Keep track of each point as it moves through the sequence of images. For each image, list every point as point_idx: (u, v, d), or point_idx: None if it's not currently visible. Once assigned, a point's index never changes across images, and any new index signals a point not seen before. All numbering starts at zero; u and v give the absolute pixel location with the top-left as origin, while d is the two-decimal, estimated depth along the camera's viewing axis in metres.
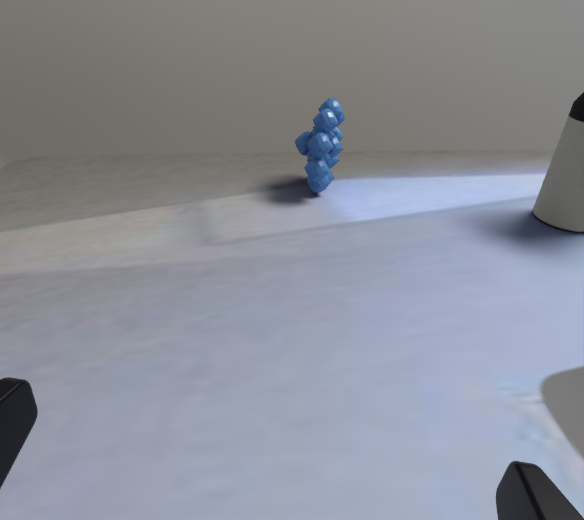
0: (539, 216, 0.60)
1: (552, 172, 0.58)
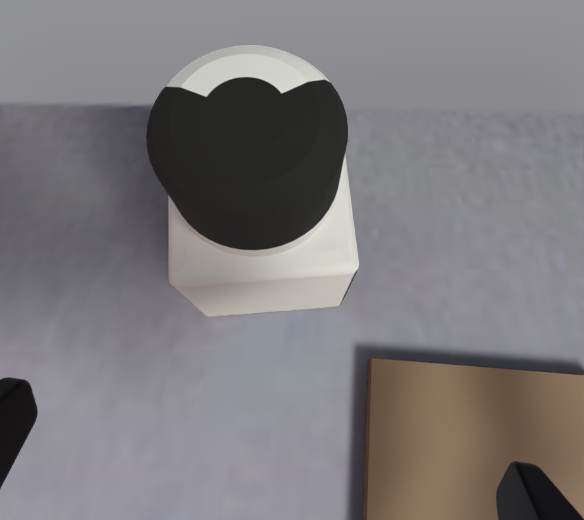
0: None
1: None
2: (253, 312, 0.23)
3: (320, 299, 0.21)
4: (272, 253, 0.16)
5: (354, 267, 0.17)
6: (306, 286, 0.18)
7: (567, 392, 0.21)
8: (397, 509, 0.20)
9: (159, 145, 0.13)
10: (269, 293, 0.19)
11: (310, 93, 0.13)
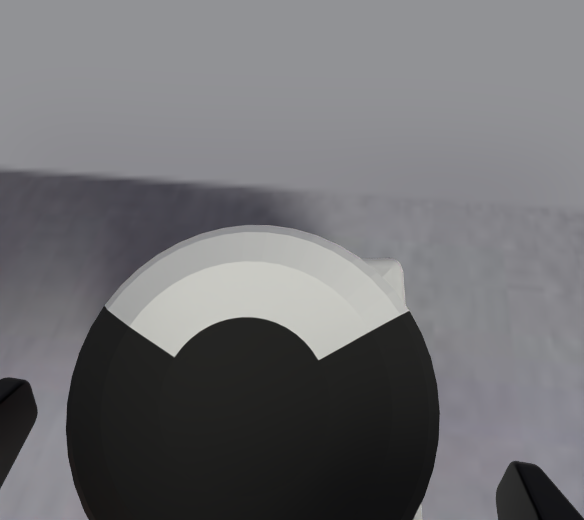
0: None
1: None
2: None
3: None
4: None
5: None
6: None
7: None
8: None
9: (81, 444, 0.07)
10: None
11: (375, 358, 0.07)
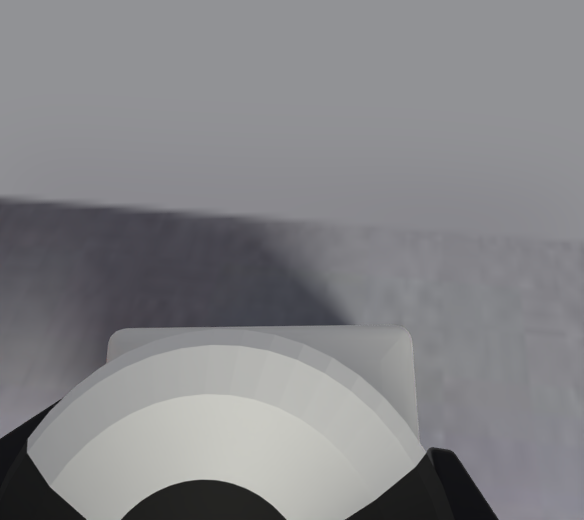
0: None
1: None
2: None
3: None
4: None
5: None
6: None
7: None
8: None
9: None
10: None
11: None
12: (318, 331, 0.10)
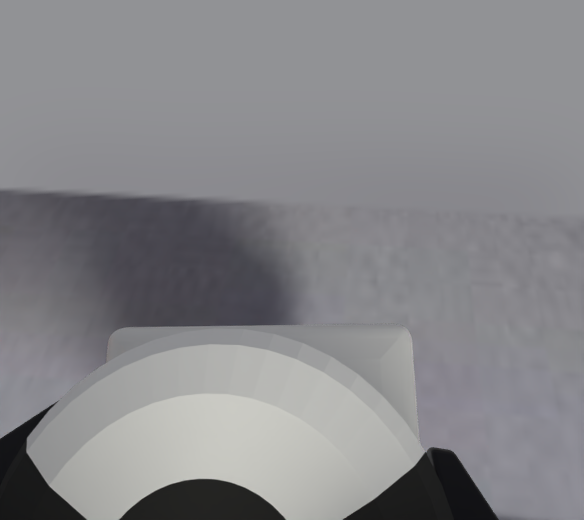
0: None
1: None
2: None
3: None
4: None
5: None
6: None
7: None
8: None
9: None
10: None
11: None
12: (317, 330, 0.10)
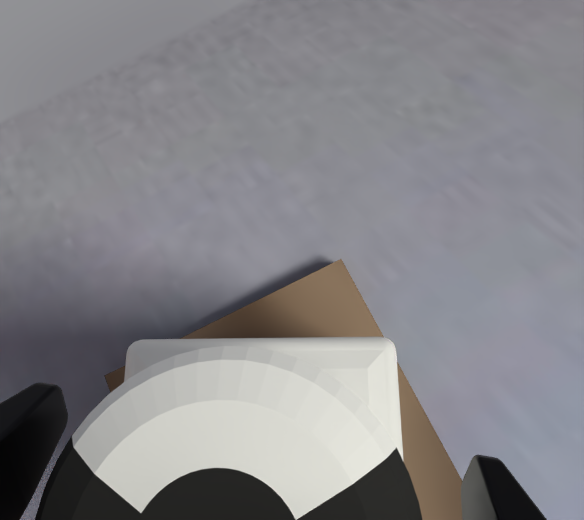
0: None
1: None
2: None
3: None
4: None
5: None
6: None
7: (310, 295, 0.19)
8: None
9: None
10: None
11: (357, 516, 0.06)
12: (312, 342, 0.12)
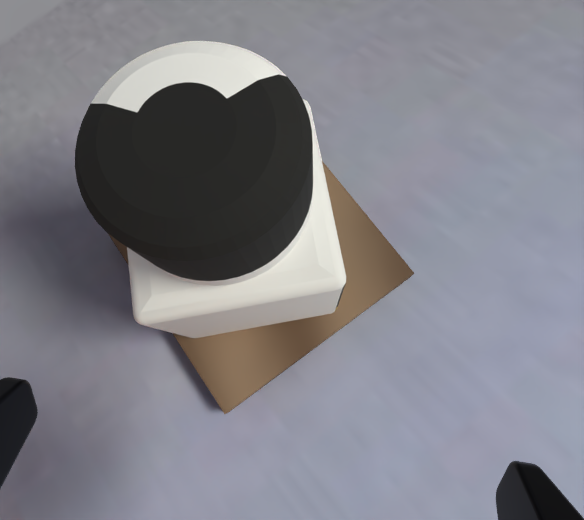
0: None
1: None
2: (241, 329, 0.21)
3: (311, 311, 0.19)
4: (243, 279, 0.14)
5: (341, 282, 0.15)
6: (291, 304, 0.16)
7: None
8: None
9: (88, 177, 0.11)
10: (252, 315, 0.17)
11: (262, 94, 0.11)
12: None
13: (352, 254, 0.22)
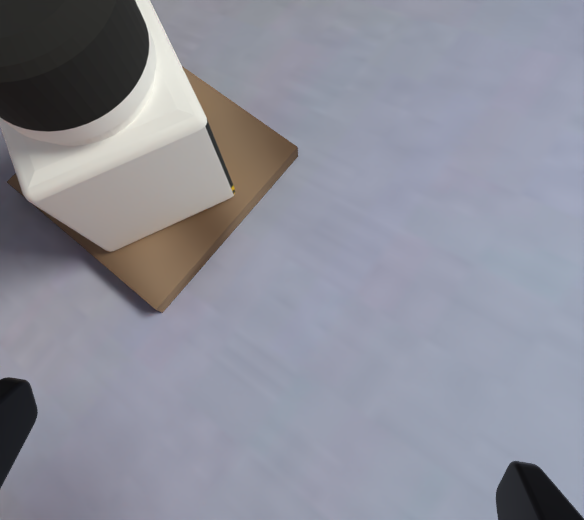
0: None
1: None
2: (153, 231, 0.22)
3: (205, 187, 0.21)
4: (108, 126, 0.15)
5: (201, 120, 0.17)
6: (172, 165, 0.18)
7: None
8: None
9: None
10: (143, 189, 0.19)
11: None
12: None
13: (239, 145, 0.24)
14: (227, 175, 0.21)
